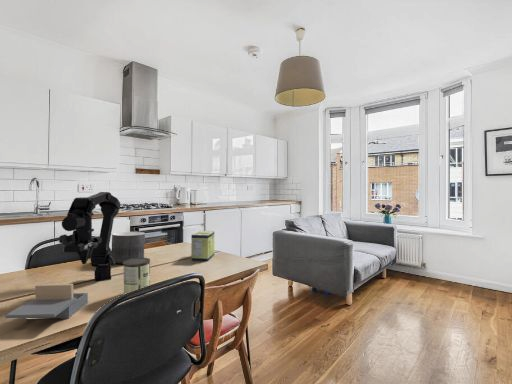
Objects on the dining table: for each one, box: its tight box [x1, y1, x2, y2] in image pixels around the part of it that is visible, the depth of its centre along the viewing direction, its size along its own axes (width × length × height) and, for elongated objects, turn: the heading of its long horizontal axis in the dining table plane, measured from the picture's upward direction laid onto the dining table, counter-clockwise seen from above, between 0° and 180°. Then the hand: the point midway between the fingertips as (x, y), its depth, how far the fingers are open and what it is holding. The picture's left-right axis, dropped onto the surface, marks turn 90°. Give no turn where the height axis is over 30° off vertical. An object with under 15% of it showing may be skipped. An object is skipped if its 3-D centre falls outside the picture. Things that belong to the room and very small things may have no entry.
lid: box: [4, 283, 77, 319], centre depth 92 cm, size 12×14×6 cm
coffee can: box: [122, 257, 151, 295], centre depth 115 cm, size 10×10×14 cm
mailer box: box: [41, 292, 89, 319], centre depth 100 cm, size 12×14×4 cm
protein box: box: [190, 230, 215, 262], centre depth 173 cm, size 10×16×16 cm
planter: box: [111, 231, 146, 264], centre depth 164 cm, size 18×18×16 cm
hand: (84, 264), depth 117 cm, fingers closed
